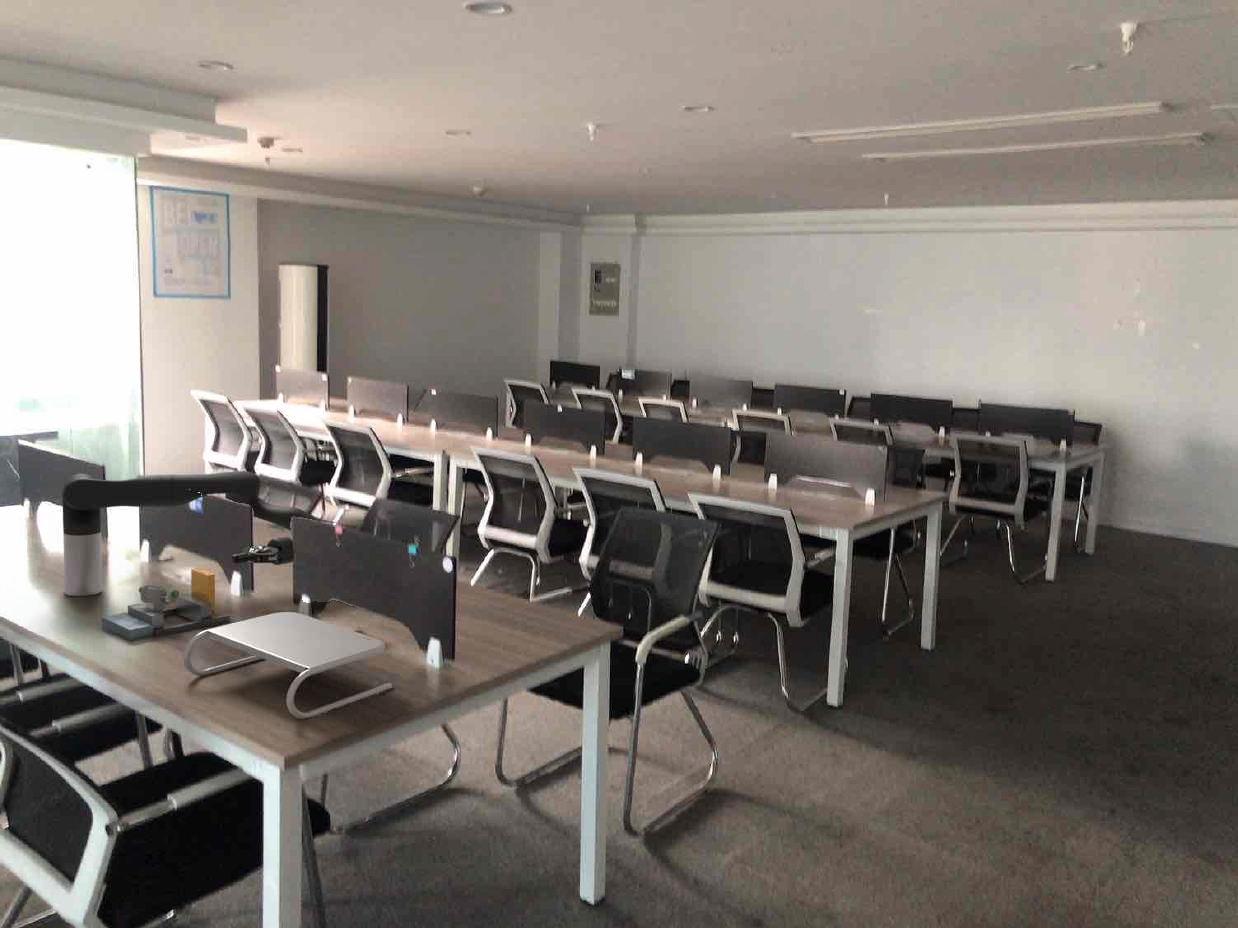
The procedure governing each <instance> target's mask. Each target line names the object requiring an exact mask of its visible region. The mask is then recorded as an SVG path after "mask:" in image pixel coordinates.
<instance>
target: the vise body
mask: <svg viewBox="0 0 1238 928" xmlns="http://www.w3.org/2000/svg"><path fill="white" fill-rule="evenodd" d="M167 615H168V616H171V615H178V614H177V606H174V607H169V608H164V609H163V610H162V613H160V612H158V611H156V610H154V609H153V608H152V607H151V608H150V607H149V606H146V605H144V604H141V603H134V604H130V605H127V612H126V611H125V612H121V613H116V614H111V615H106V616H105V615H104V616H101V629H102V630H104V631H106V632H108V633H110V634H113V635H114V636H117V637H119V638H120V639H123V640H125V641H127V642H130V643H131V642H135V641H140V640H141V641H142V640H145V639H150V638H158V637H164V636H168V634H169V635H172V634H177V633H181V632H185V631H186V632H187V631H190V630H195V629H196V630H197V629H200V628H203V627H204V628H205V627H209V626H213V624H214V625H217V624H218V625H219V624H223V623H226V622H227V623H228V622H231V615H230V614H222V615H219V616H215V617H213V618H208V619H204V620H199V621H190V622H186V623H181V624H177V625H172V626H168V627H164V625H165V624H164V622H165V621H164V617H168V616H167Z"/></svg>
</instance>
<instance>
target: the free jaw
mask: <svg viewBox="0 0 1238 928" xmlns="http://www.w3.org/2000/svg"><path fill="white" fill-rule="evenodd" d="M190 573H191V575H190V577H191V578H190V580H191V581H190V582H191V585H190V589H191V590H190V592H191V594H190V593H183V594H179V595H178V597H177V601H176V607H177V614H176V615H179V616H181V617H184V618H186V619H188V620H190V621H192V622H194V621H199V620H204V619H208V618H213V617H216V574H215V573H213V572H209V571H207V570H204V569H202V568H199V567H198V568H197V567H196V568H193V569H191V570H190Z"/></svg>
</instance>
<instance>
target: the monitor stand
mask: <svg viewBox="0 0 1238 928" xmlns="http://www.w3.org/2000/svg"><path fill="white" fill-rule="evenodd" d="M205 637H209V639H210V640H212V641H213V640H214V641H216V642H218V643H221V644H224V645H227V646H229V647H232V648H234V649H237V650H239V651H242V652H245V653H248V654H250V655H252V656H248V657H244V658H242V659H238V660H234V661H230V662H227V663H224V664H220V665H217V666H213V667H209V668H206V669H198V668H196V666H195V667H194V665H193V664H192V660H191V654H192V652H193V650H194V647H195V646H196V644H197V643H198V642H199V641H201V640H202V639H203V638H205ZM385 649H386V644H385V643H384V642H383V641H382V640H381V639H378V638H375V637H372V636H369V635H367V634H363V633H360V632H357V631H355V630H351V629H349V628H344V627H342V626H339V625H337V624H333V623H330V622H327V621H324V620H320V619H319V618H318V619H317V618H314V617H312V616H309V615H306V614H303V613H299V612H295V611H292V612H291V611H283V612H282V611H281V612H280V611H279V612H273V613H269V614H265V615H261V616H258V617H252V618H249V619H245V620H241V621H237V622H233V623H228V624H224V625H220V626H217V627H212V628H207V629H205V630H203V631H200V632H198V633H197V634H195V635H194V636H193V637H192V638H191V640H189V642H188V643H187V645H186V647H185V649H184V652H183V660H182V661H183V664H184V666H185V669H186V670H187V671H188V672H189V673H191V674H192V675H194V676H198V677H205V676H204V675H206V676H209V675H213V673H214V674H216V672H218V673H220V672H219V671H222V672H224V671H227V670H230V669H229V668H231V669H233V668H232V667H234V668H236V667H235V666H238V667H241V666H244V665H243V664H245V665H248V664H251V663H250V662H252V663H254V662H253V661H255V662H259V661H262V660H266V661H269V662H271V663H275V664H276V665H279V666H281V667H285V668H286V669H287V668H288V669H290V670H293V671H294V672H298V673H299V675H297V676H296V677H295V679H294V680H293V681H292V683H291V684H290V686H289V688H288V691H287V694H286V700H285V702H286V707H287V709H288V711H289V713H290V714H291V715H292V716H293V717H295V718H297V719H300V720H306V719H305V718H308V719H310V718H309V717H312V718H314V717H313V716H315V717H317V716H320V715H319V714H321V713H325V714H326V713H328V711H329V712H331V711H333V710H332V709H334V708H337V709H339V707H340V708H342V707H344V705H345V706H347V705H346V704H348V703H351V704H353V703H356V702H358V701H357V700H359V701H361V700H360V699H362V700H364V698H365V699H367V698H369V696H370V697H372V696H371V695H373V696H375V695H374V694H377V695H379V694H381V693H383V691H384V692H386V691H385V690H387V689H390V690H392V689H393V688H394V685H393V683H392V682H388V683H385V684H382V685H380V686H377V687H374V688H371V689H369V690H366V691H363V692H360V693H357V694H354V695H351V696H348V697H345V698H342V699H340V700H337V701H335V702H332V703H329V704H325V705H323V706H321V707H317V708H314V709H312V710H309V711H307V712H302V711H300V710H298V709H297V707H296V705H295V699H294V698H295V696H296V695H295V694H296V692H297V689H298V688H299V686H300V684H301V683H303V681H305V679H306V678H308V677H310V676H315V675H316V674H320V673H324V672H326V671H330V670H332V669H335V668H339V667H342V666H344V665H345V666H346V665H348V664H351V663H355V662H358V661H361V660H363V659H367V658H370V657H373V656H376V655H378V654H381V653H382V652H384V650H385ZM258 660H259V661H258ZM247 663H248V664H247ZM240 665H241V666H240ZM306 668H307V669H306ZM226 669H227V670H226ZM223 670H224V671H223ZM391 688H392V689H391ZM387 691H388V690H387ZM380 692H381V693H380ZM366 697H367V698H366ZM355 701H356V702H355ZM352 702H353V703H352ZM348 705H349V704H348ZM341 706H342V707H341ZM330 710H331V711H330ZM334 710H335V709H334ZM316 715H317V716H316ZM321 715H322V714H321Z"/></svg>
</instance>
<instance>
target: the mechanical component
mask: <svg viewBox="0 0 1238 928" xmlns="http://www.w3.org/2000/svg"><path fill="white" fill-rule="evenodd" d="M138 592H139V593H140V599H141V601H142V602H143V603H147V604H153V608H152V609H153V610H156V611H158V612H160V613H162V610H163V609H166V608H165V607H166V606H168V605H172V604H174V603H177V597H178V595H180V593H179V591H178V590H177V589H170V590H169V592H168V590H166V587H165V586H159V585H158V586H157V585H150V584H146V585H143V586H139V589H138Z"/></svg>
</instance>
